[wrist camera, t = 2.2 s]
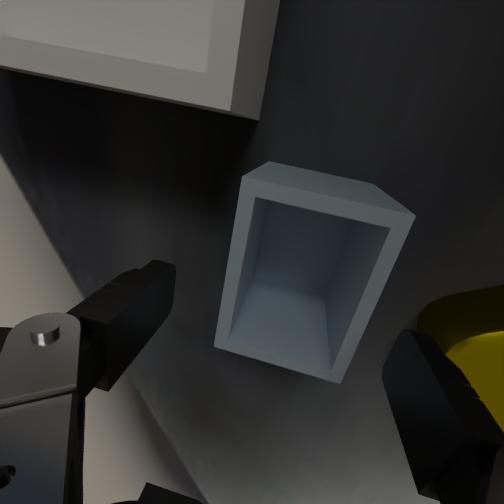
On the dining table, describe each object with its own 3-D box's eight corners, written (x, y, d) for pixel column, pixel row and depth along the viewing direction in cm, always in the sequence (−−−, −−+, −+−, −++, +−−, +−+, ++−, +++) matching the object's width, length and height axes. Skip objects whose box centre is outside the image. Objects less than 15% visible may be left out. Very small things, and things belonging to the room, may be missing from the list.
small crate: (372, 183, 15) (416, 215, 9) (330, 300, 19) (340, 384, 12) (269, 161, 16) (242, 176, 10) (245, 278, 19) (213, 346, 13)
